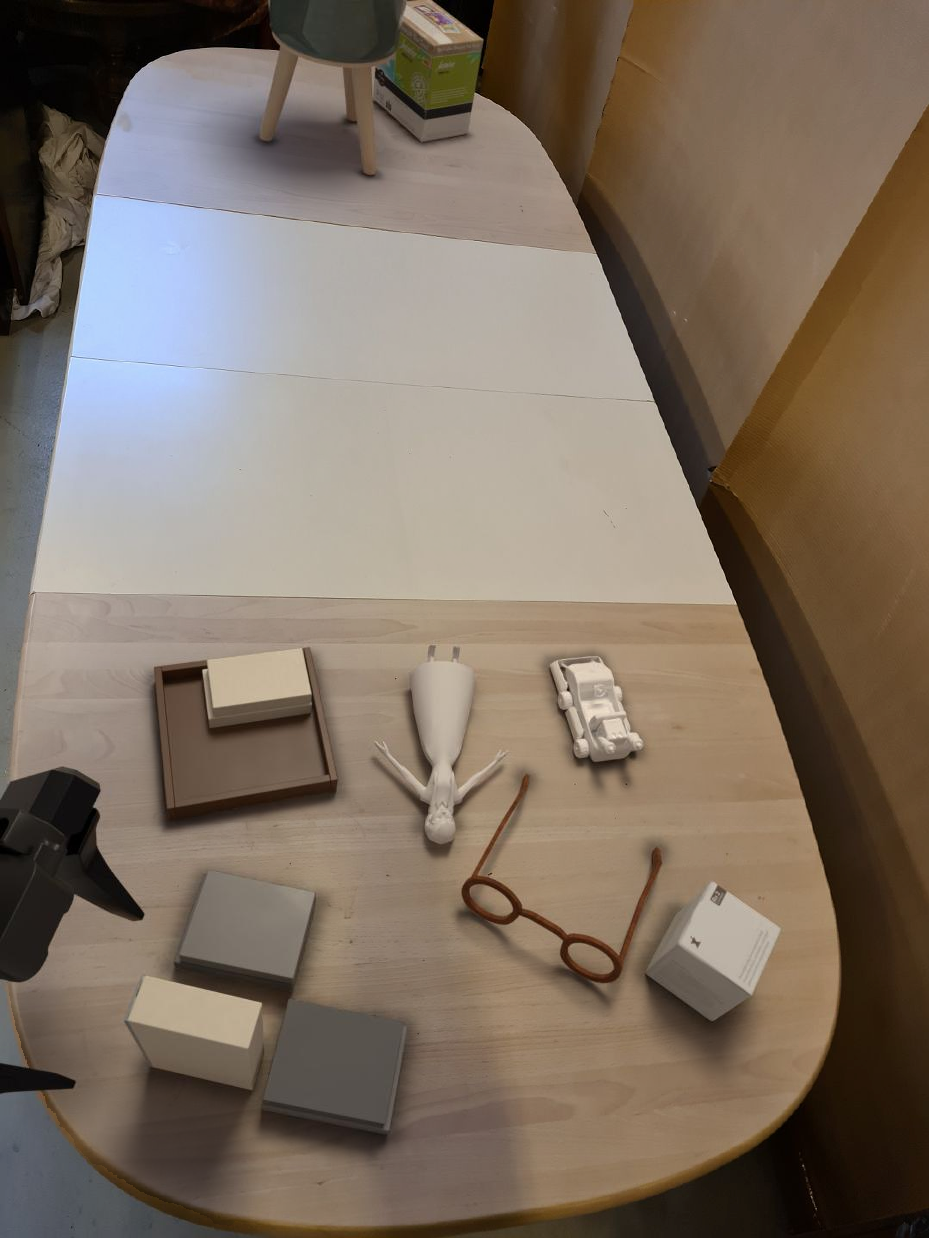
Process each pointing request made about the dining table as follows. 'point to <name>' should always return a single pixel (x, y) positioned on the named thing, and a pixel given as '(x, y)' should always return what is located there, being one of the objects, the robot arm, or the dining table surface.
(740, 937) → the white cardboard box
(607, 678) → the toy car
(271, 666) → the white book stack
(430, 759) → the woman figurine
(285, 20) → the planter
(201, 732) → the book tray
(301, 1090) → the dark grey book stack
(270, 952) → the grey book stack left
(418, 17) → the tea box
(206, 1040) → the white book
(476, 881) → the glasses
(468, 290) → the dining table surface
